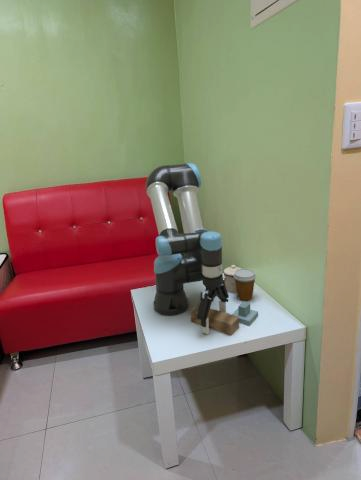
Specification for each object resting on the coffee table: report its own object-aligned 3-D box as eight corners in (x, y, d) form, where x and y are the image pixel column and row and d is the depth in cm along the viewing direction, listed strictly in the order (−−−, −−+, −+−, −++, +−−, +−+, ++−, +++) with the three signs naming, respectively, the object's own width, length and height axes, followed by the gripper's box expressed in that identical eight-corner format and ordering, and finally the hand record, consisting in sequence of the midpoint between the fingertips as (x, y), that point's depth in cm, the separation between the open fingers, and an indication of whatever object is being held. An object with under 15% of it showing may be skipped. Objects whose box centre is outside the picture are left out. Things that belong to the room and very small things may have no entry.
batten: (190, 322, 139) (190, 311, 137) (199, 315, 143) (198, 304, 142) (231, 336, 128) (231, 324, 127) (239, 328, 133) (238, 316, 131)
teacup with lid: (237, 282, 168) (236, 260, 164) (247, 290, 160) (247, 267, 156) (214, 288, 164) (214, 265, 160) (224, 296, 156) (223, 272, 152)
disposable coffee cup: (256, 303, 149) (256, 277, 145) (233, 302, 151) (232, 277, 147) (256, 292, 157) (256, 268, 154) (234, 292, 159) (234, 268, 156)
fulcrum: (230, 320, 138) (230, 306, 136) (239, 310, 144) (239, 297, 142) (249, 325, 133) (249, 311, 131) (258, 315, 140) (258, 302, 138)
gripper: (203, 289, 117) (205, 344, 124) (236, 263, 136) (237, 312, 143) (184, 285, 121) (188, 337, 128) (220, 260, 140) (221, 307, 147)
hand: (214, 324), depth 135 cm, fingers open, 12 cm apart
